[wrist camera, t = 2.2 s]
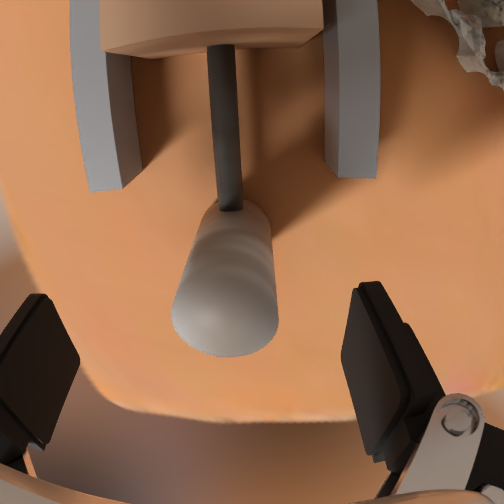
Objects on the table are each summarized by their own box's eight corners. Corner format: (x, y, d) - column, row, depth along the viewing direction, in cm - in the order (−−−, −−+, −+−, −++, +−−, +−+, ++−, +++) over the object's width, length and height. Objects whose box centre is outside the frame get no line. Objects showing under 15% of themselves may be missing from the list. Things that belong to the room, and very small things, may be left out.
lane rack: (341, -99, 6) (355, -123, 4) (356, 161, 13) (376, 178, 11) (102, -77, 7) (79, -94, 5) (113, 174, 14) (90, 192, 11)
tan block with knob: (290, -68, 8) (313, -149, 2) (299, 254, 16) (320, 353, 10) (150, -54, 8) (87, -117, 2) (178, 258, 16) (143, 355, 10)
